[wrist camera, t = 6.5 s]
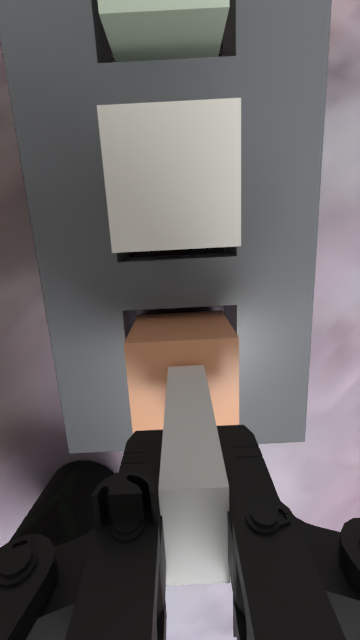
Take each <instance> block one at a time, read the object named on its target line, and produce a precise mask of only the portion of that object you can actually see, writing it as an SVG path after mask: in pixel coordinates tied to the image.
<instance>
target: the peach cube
mask: <svg viewBox="0 0 360 640" xmlns="http://www.w3.org/2000/svg"><path fill="white" fill-rule="evenodd" d="M124 353H125V362H126V372H127V382H128V392H129V401H130V411H131V421H132V431H133V433H134V432H135V431H143V430H163V424H164V412H165V399H166V387H167V374H168V367H172V366H192V365H204V367H205V372H206V377H207V382H208V387H209V392H210V397H211V401H212V406H213V411H214V416H215V421H216V426H224V425H239V337H238V335H237V334H236V332H235V331H234V329H233V327H232V326H231V324H230V323H229V321H228V320H227V318H226V316H225V315H224V313H223V312H222V311H205V312H186V313H166V314H147V315H138V316H137V318H136V320H135V322H134V324H133V326H132V328H131V330H130V332H129V334H128V336H127V338H126V340H125V342H124Z"/></svg>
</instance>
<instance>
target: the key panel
mask: <svg viewBox="0 0 360 640" xmlns="http://www.w3.org/2000/svg"><path fill="white" fill-rule="evenodd" d="M331 3H332V0H230V7H229V12H228V16H227V20H226V25H225V29H224V33H223V38H222V57H205V58H187V59H168V60H149V61H130V62H112V61H111V50H110V45H109V42H108V39H107V36H106V33H105V30H104V28H103V25H102V22H101V19H100V16H99V11H98V0H0V40H1V46H2V52H3V58H4V64H5V70H6V76H7V82H8V88H9V94H10V100H11V106H12V112H13V118H14V124H15V130H16V136H17V142H18V148H19V154H20V160H21V166H22V172H23V178H24V184H25V190H26V196H27V202H28V208H29V214H30V220H31V226H32V232H33V238H34V244H35V250H36V256H37V262H38V268H39V274H40V280H41V286H42V292H43V299H44V305H45V311H46V317H47V323H48V329H49V335H50V341H51V347H52V353H53V359H54V365H55V371H56V377H57V383H58V389H59V395H60V401H61V407H62V413H63V419H64V425H65V431H66V437H67V443H68V449H69V454H71V453H91V452H110V451H124V450H125V446H126V442H127V440H128V439H129V438H130V437H131V436H132V435H133V431H132V421H131V411H130V401H129V392H128V382H127V372H126V362H125V353H124V342H125V340H126V338H127V336H128V334H129V332H130V330H131V328H132V326H133V324H134V322H135V314H134V310H148V309H168V308H187V307H206V306H225V316H226V318H227V320H228V321H229V323H230V324H231V326H232V327H233V329H234V331H235V332H236V334H237V335H238V337H239V425H245V426H246V427H247V428H248V429H249V430H250V431H251V432H252V433H253V434H254V436H255V438H256V441H257V443H258V444H267V443H286V442H305V429H306V413H307V396H308V380H309V363H310V347H311V331H312V314H313V298H314V282H315V265H316V249H317V233H318V216H319V200H320V183H321V167H322V151H323V134H324V118H325V102H326V85H327V69H328V52H329V36H330V20H331ZM225 98H241V246H237V247H225V253H213V254H194V255H175V256H156V257H136V258H129V252H122V253H112V248H111V238H110V228H109V219H108V209H107V200H106V190H105V181H104V171H103V161H102V152H101V142H100V133H99V123H98V114H97V105H112V104H130V103H149V102H168V101H187V100H206V99H225Z"/></svg>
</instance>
